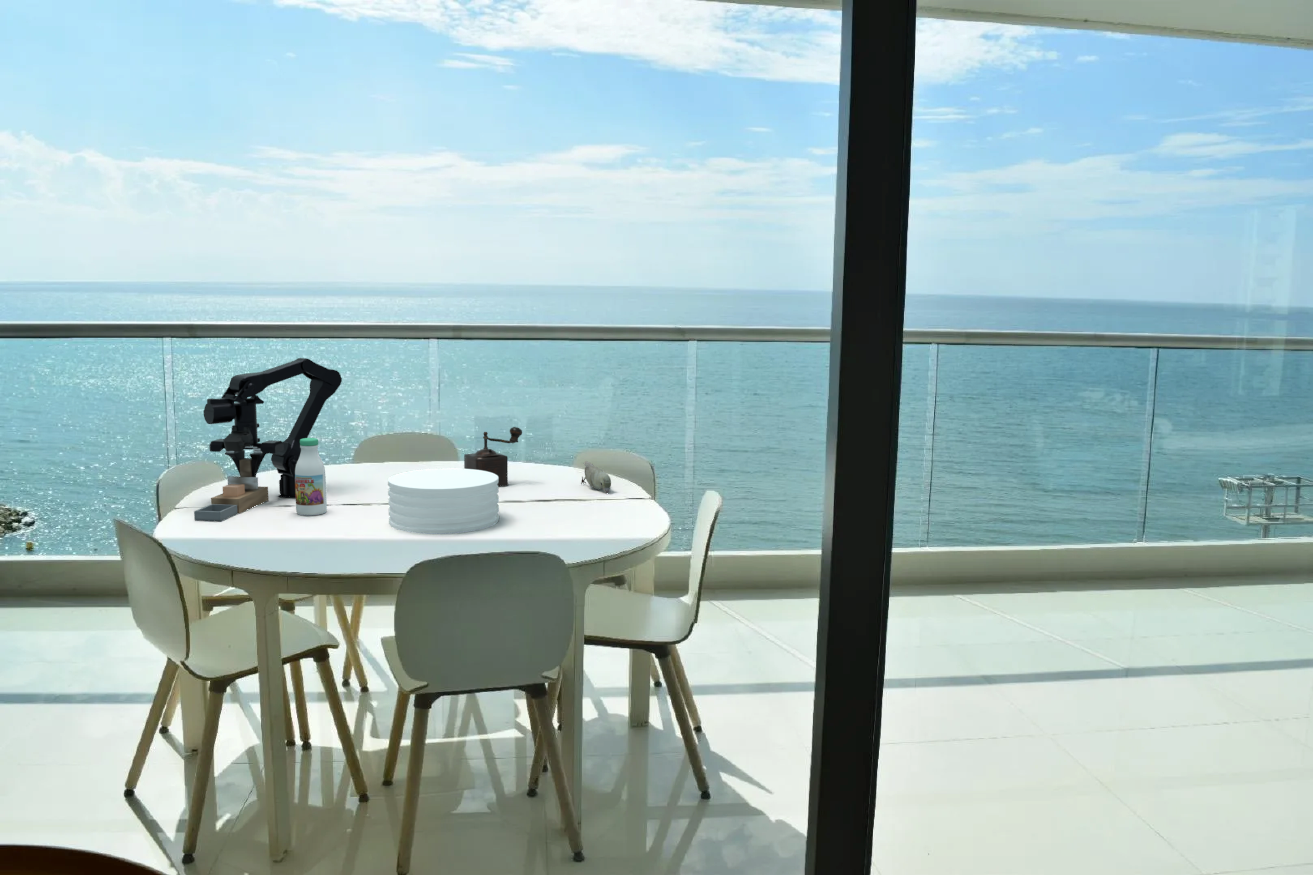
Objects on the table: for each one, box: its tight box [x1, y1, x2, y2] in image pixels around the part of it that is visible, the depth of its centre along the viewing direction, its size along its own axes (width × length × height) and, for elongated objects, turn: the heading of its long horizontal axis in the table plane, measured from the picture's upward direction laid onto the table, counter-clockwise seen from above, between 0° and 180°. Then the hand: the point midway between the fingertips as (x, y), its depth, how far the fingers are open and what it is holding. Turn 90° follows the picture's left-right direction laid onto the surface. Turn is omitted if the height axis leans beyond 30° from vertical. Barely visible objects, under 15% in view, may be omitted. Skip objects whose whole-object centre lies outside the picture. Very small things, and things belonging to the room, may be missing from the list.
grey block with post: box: [227, 457, 259, 489], centre depth 273 cm, size 8×5×8 cm, turn 85°
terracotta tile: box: [222, 484, 245, 497], centre depth 267 cm, size 4×4×2 cm
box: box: [193, 503, 239, 523], centre depth 258 cm, size 7×8×2 cm
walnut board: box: [210, 485, 270, 515], centre depth 271 cm, size 8×16×4 cm, turn 175°
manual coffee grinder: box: [463, 426, 523, 487], centre depth 306 cm, size 16×11×18 cm
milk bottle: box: [295, 437, 328, 516], centre depth 263 cm, size 8×8×20 cm
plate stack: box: [387, 467, 500, 535], centre depth 258 cm, size 28×28×12 cm
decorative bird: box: [580, 460, 612, 494], centre depth 302 cm, size 5×16×7 cm, turn 28°
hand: (248, 476), depth 274 cm, fingers closed on grey block with post, 3 cm apart
